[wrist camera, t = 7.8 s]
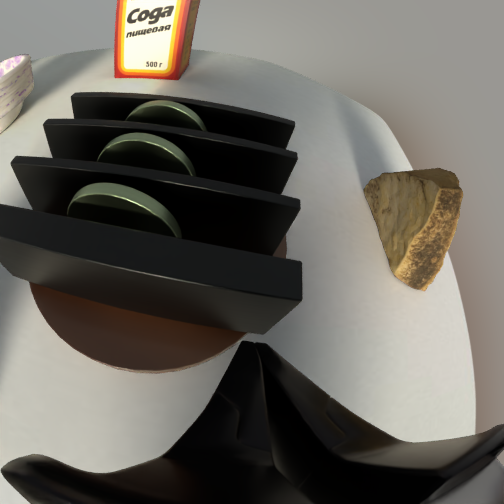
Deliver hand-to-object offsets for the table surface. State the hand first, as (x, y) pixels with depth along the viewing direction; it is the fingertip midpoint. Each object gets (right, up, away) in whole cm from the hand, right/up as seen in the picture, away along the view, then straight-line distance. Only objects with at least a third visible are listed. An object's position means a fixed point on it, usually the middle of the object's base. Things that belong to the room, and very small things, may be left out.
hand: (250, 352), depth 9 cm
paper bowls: (-35, +20, +11) cm, 41 cm away
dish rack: (-6, +5, +7) cm, 11 cm away
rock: (+13, +5, +15) cm, 20 cm away
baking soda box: (-14, +29, +22) cm, 39 cm away
